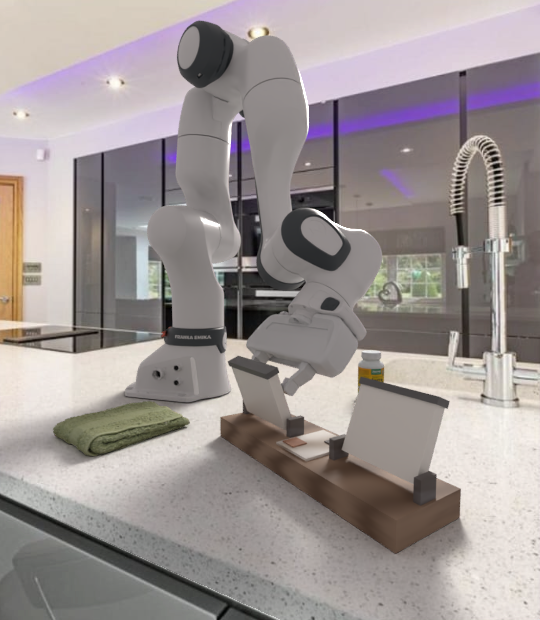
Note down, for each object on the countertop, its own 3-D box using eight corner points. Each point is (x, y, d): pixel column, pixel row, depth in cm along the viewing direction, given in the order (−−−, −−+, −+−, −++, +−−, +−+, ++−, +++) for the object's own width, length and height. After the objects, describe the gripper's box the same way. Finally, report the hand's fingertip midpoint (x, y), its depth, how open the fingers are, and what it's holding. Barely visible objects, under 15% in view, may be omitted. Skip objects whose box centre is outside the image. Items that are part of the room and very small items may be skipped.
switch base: (220, 435, 63) (220, 401, 62) (273, 423, 68) (273, 392, 68) (395, 553, 35) (397, 493, 35) (459, 517, 41) (461, 465, 41)
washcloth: (194, 428, 67) (194, 409, 67) (89, 464, 54) (88, 440, 53) (149, 411, 76) (148, 394, 75) (48, 439, 62) (47, 418, 62)
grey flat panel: (339, 448, 47) (360, 376, 49) (350, 451, 48) (370, 380, 50) (415, 485, 39) (439, 396, 40) (427, 488, 40) (449, 401, 41)
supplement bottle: (369, 392, 89) (370, 348, 89) (389, 397, 85) (390, 352, 84) (352, 395, 86) (352, 350, 86) (371, 401, 82) (372, 354, 81)
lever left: (245, 411, 63) (227, 361, 61) (255, 404, 64) (238, 355, 62) (285, 431, 55) (265, 374, 53) (295, 423, 56) (277, 367, 54)
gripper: (267, 299, 71) (218, 361, 66) (354, 303, 54) (296, 386, 49) (288, 323, 74) (242, 384, 69) (376, 334, 57) (324, 416, 52)
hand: (265, 385), depth 59 cm, fingers open, 8 cm apart
